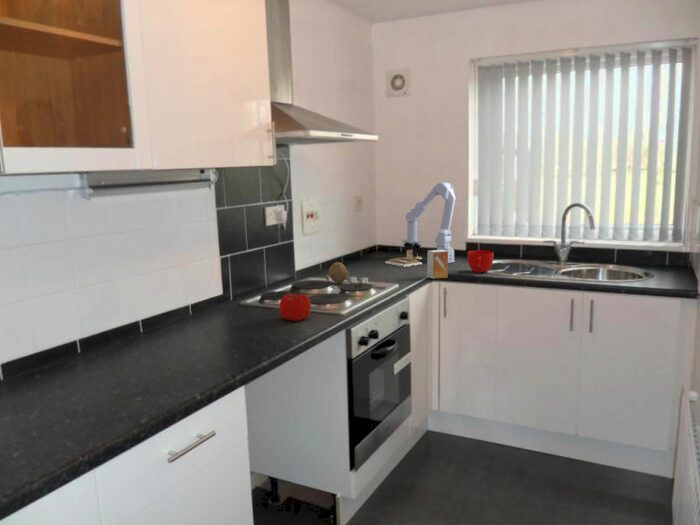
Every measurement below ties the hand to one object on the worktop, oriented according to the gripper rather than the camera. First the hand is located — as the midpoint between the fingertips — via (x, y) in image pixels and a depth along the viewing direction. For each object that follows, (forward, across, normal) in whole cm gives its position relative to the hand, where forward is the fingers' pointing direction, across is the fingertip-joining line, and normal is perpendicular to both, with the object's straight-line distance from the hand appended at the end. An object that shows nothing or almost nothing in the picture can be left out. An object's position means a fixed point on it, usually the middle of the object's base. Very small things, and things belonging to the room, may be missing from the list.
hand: (412, 256), depth 334 cm
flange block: (+2, 0, 0) cm, 2 cm away
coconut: (+2, -28, +73) cm, 78 cm away
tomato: (+2, -70, +122) cm, 141 cm away
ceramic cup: (+2, -53, +3) cm, 53 cm away
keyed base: (+2, -8, +14) cm, 16 cm away
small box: (+2, -48, +28) cm, 56 cm away
